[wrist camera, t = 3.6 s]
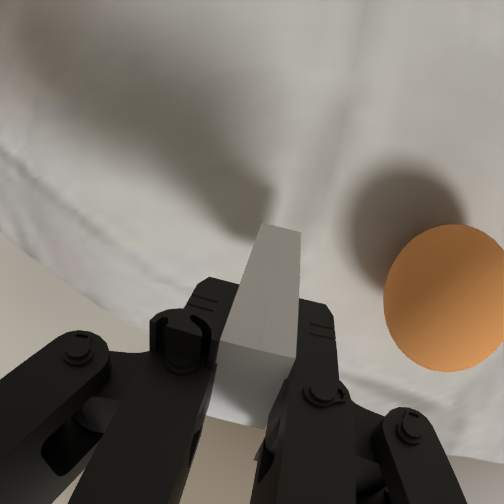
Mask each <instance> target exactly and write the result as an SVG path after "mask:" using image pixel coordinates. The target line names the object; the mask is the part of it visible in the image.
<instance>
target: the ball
mask: <svg viewBox="0 0 504 504" xmlns="http://www.w3.org/2000/svg"><path fill="white" fill-rule="evenodd" d="M383 304H384V314H385V319H386V324H387V327H388V329H389V332H390V334H391V336H392V338H393V340H394V341H395V343H396V345H397V346H398V348H399V349H400V350H401V351H402V352H403V353H404V354H405V355H406V356H407V357H408V358H409V359H411V360H412V361H413V362H415V363H416V364H418V365H420V366H422V367H425V368H427V369H430V370H434V371H441V372H454V371H460V370H464V369H468V368H470V367H473V366H475V365H477V364H479V363H480V362H482V361H484V360H485V359H486V358H488V357H489V356H490V355H491V354H492V353H493V352H494V351H495V350H496V349H497V348H498V347H499V346H500V345H501V343H502V342H503V340H504V250H503V249H502V248H501V247H500V246H499V244H498V243H497V242H496V241H495V240H494V239H493V238H491V237H490V236H488V235H487V234H486V233H484V232H482V231H480V230H478V229H476V228H473V227H470V226H466V225H458V224H447V225H441V226H437V227H434V228H431V229H428V230H426V231H424V232H422V233H421V234H419V235H418V236H416V237H415V238H413V239H412V240H411V241H410V242H409V243H408V244H407V245H406V246H405V247H404V248H403V249H402V250H401V252H400V253H399V254H398V256H397V257H396V259H395V261H394V262H393V264H392V266H391V268H390V271H389V273H388V276H387V279H386V284H385V289H384V298H383Z"/></svg>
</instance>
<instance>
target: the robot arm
mask: <svg viewBox="0 0 504 504" xmlns="http://www.w3.org/2000/svg"><path fill="white" fill-rule="evenodd" d="M300 252H301V232H297V231H293V230H289V229H285V228H281V227H277V226H273V225H269V224H265V223H261V226H260V229H259V232H258V234H257V237H256V240H255V243H254V246H253V249H252V251H251V254H250V257H249V260H248V263H247V265H246V268H245V271H244V274H243V277H242V279H241V282H240V285H239V284H235V283H231V282H227V281H224V280H220V279H216V278H212V277H208V278H207V279H205V280H203V281H202V282H200V283H198V284H197V286H196V288H195V289H194V291H193V293H192V295H191V296H190V298H189V300H188V302H187V304H186V305H185V307H184V309H181V308H179V309H168V310H165V311H163V312H160V313H158V314H156V315H155V316H154V317H153V318H152V319H151V320H150V351H147V352H142V353H126V352H114V351H109V349H108V346H107V343H106V342H105V341H104V340H103V339H102V338H101V337H100V336H98V335H96V334H94V333H92V332H88V331H81V330H77V331H71V332H67V333H65V334H63V335H61V336H59V337H57V338H56V339H55V340H53V341H52V342H50V343H49V344H47V345H46V346H45V347H44V348H42V349H41V350H39V351H38V352H37V353H35V354H34V355H32V356H31V357H30V358H28V359H27V360H26V361H24V362H23V363H22V364H20V365H19V366H18V367H16V368H15V369H14V370H13V371H11V372H10V373H8V374H7V375H6V376H4V377H3V378H2V379H1V380H0V504H52V503H53V501H54V500H55V499H56V498H57V497H58V496H59V495H60V494H61V493H62V492H63V491H64V490H65V489H66V488H67V487H68V486H69V485H70V484H71V483H72V481H74V479H75V478H76V477H77V476H78V475H79V474H80V473H81V472H82V471H83V470H84V469H85V470H84V472H83V474H82V476H81V478H80V480H79V482H78V484H77V486H76V488H75V490H74V492H73V494H72V496H71V498H70V500H69V502H68V504H179V502H180V499H181V496H182V493H183V490H184V487H185V484H186V480H187V477H188V474H189V471H190V468H191V465H192V461H193V458H194V455H195V452H196V449H197V446H198V443H199V439H200V436H201V432H202V427H203V422H204V419H205V416H206V415H208V416H211V417H215V418H219V419H222V420H226V421H230V422H234V423H239V424H243V425H248V426H252V427H257V428H261V429H264V428H265V426H266V424H267V430H266V436H265V438H264V440H263V442H262V444H261V446H260V448H259V450H258V451H257V453H256V456H255V458H254V460H256V461H258V462H257V468H256V473H255V479H254V485H253V490H252V495H251V500H250V504H467V502H466V500H465V497H464V495H463V492H462V490H461V488H460V485H459V483H458V481H457V478H456V476H455V474H454V471H453V469H452V467H451V465H450V462H449V460H448V458H447V456H446V454H445V451H444V449H443V447H442V445H441V443H440V441H439V439H438V437H437V435H436V432H435V430H434V428H433V426H432V425H431V423H430V422H429V420H428V419H427V418H426V417H425V416H424V415H422V414H421V413H420V412H419V411H416V410H414V409H411V408H407V407H398V408H396V409H393V410H391V411H390V412H389V413H388V414H387V415H386V416H385V417H384V416H382V415H379V414H377V413H374V412H372V411H370V410H367V409H365V408H363V407H361V406H359V405H357V404H355V403H354V402H353V401H352V400H351V398H350V395H349V391H348V389H347V388H346V387H345V386H344V384H343V383H342V382H341V381H339V372H338V359H337V348H336V341H335V339H336V337H335V331H334V329H335V327H334V317H333V315H332V313H331V312H330V310H329V309H328V307H327V306H326V304H321V303H317V302H313V301H309V300H304V299H300V298H299V284H300ZM267 422H268V423H267Z"/></svg>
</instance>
